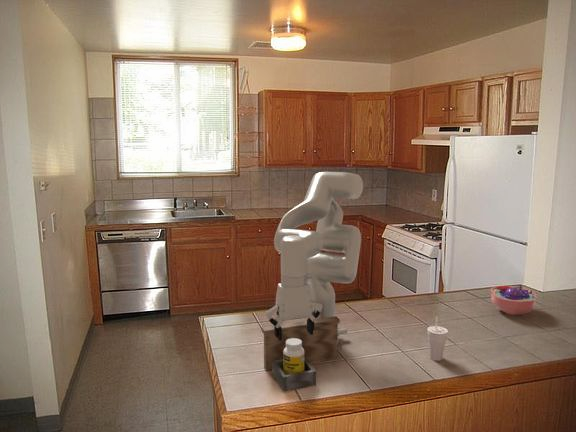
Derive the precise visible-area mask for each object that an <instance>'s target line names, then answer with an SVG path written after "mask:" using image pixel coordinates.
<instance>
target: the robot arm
mask: <svg viewBox="0 0 576 432" xmlns="http://www.w3.org/2000/svg"><path fill="white" fill-rule="evenodd" d="M363 190H364V181H363V179H362V177H361V176H360V175H359V174H358V173H352V172H345V171H342V172H341V171H321V172H320V171H319V172H317V173H315V174H314V175H313V177H312V178H311V181H310V183H309V185H308V189H307V191H306V194H305V196H304V199H303V202H301V203H300V204H298V205H296V206H294V208H292V209H291V210H289V211H288V212H286V213H285V214H284V215H283V217H282V218H281V220H280V221H279V224H278V226H277V229H276V231H275V234H274V239H273V245H274V249H275V250H276V251H277V252H278V253H280V282H279V283H278V284H277V288H276V294H275V305H274V306H273V307H271V308H269V309H267V310H266V311H265V312H264V315H265V316H266V318H267V319H268V321H269V322H270V324H271V325H272V326H274V330H275V337H277V338H278V340H279V341H281V340H282V328H281V326H280V325H281V324H284V321H292V320H298V319H303V318H306V321H307V331H308V333H309V334H310V335H313V330H314V322H315V321H316V319H321V318H328V317H335V316H336V315H335V314H336V310H335V309H336V293H335V289H334V287H333V286H332V284H331V283H337V284H346V285H347V284H348V285H349V284H352V283H353V282H354V281H355V280H356V276H357V271H358V265H359V259H360V251H361V245H362V244H361V243H362V234H361V231H360V229H359V228H358V227H357V226H355V225H349V224H343V219H344V211H343V209H342V208H341V206H340V204H338V202H337V201H336V200H335V199H350V200H357V199H359V198H360V197H361V196H362V193H363ZM316 221H317V223H316V224H317V225H316V230H306V229H296V228H298V227H300V226H302V225H306V224H310V223H313V222H316ZM322 251H327V252H322ZM333 252H334V253H333ZM341 253H344V254H341ZM274 314H275V315H276V317H275V318H274V317H273V315H274ZM345 334H348V330H347V328H346V327H345V328H342V327H341V326H338V334H337V345H338V344H339V341H340V340H339V336H340V335H345Z"/></svg>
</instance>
